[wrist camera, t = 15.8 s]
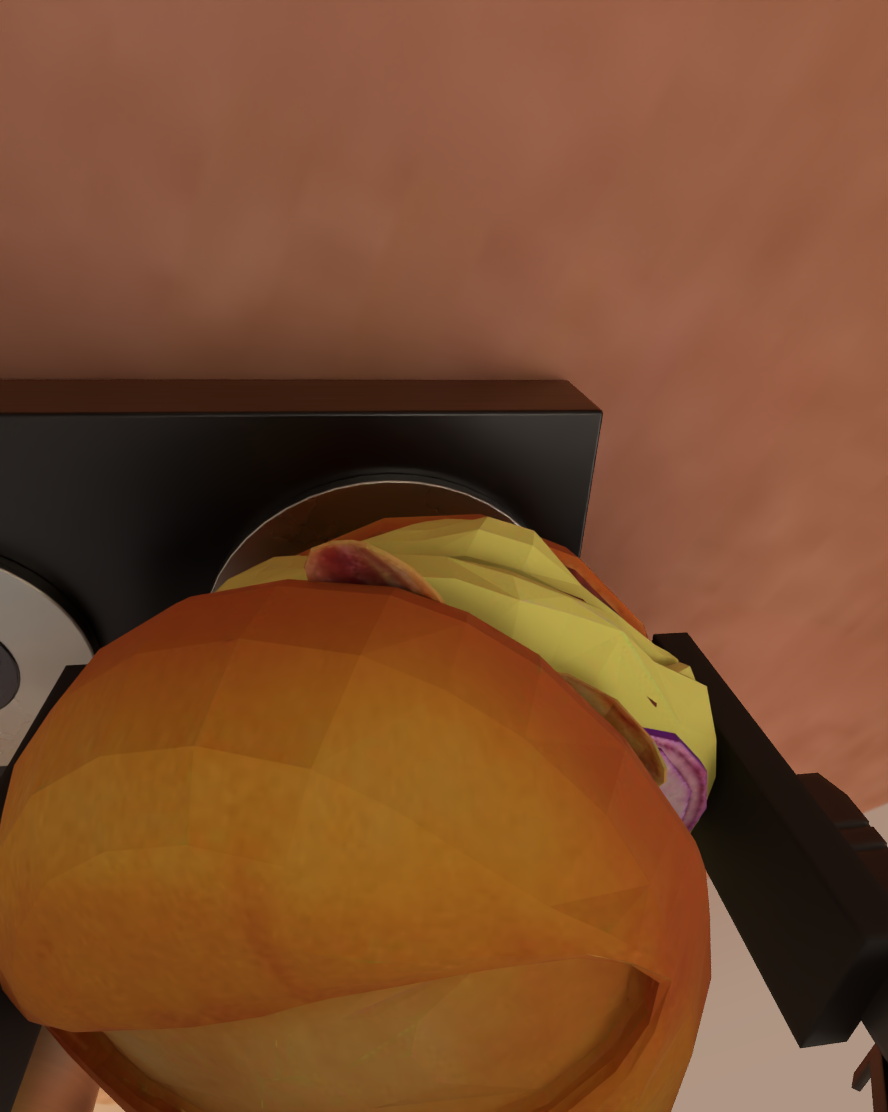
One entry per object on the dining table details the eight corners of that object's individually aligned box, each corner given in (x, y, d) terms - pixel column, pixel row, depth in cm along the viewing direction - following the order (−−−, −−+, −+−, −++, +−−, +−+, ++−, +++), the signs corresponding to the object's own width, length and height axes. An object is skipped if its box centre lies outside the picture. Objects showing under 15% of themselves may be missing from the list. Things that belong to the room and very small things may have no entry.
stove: (-318, 377, 13) (-458, 418, 11) (569, 379, 16) (608, 412, 13) (-24, 921, 22) (-66, 1005, 20) (505, 868, 25) (521, 937, 22)
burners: (-299, 484, 12) (-320, 495, 11) (582, 469, 14) (589, 477, 14) (-119, 799, 16) (-130, 815, 16) (539, 749, 18) (544, 762, 18)
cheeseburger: (484, 889, 18) (469, 1514, 9) (141, 692, 16) (-316, 1209, 7) (751, 635, 14) (1193, 1244, 5) (347, 348, 13) (-44, 503, 4)
